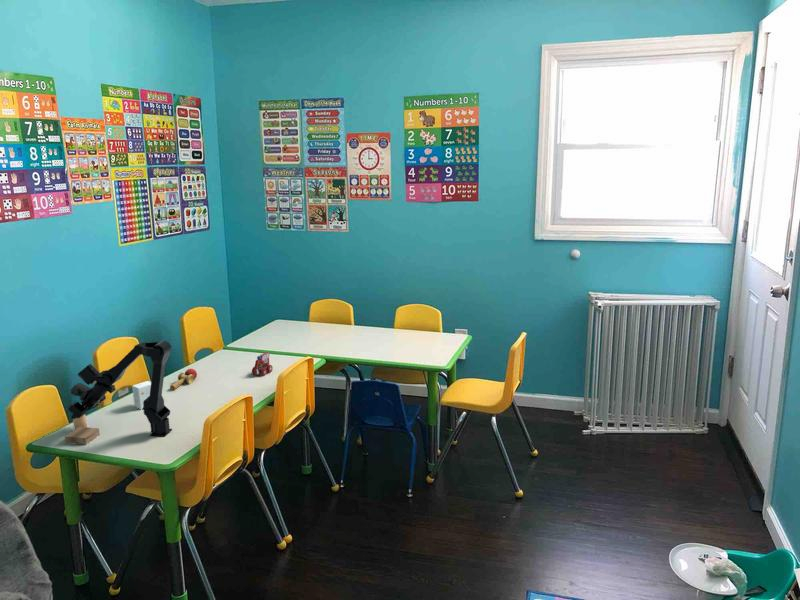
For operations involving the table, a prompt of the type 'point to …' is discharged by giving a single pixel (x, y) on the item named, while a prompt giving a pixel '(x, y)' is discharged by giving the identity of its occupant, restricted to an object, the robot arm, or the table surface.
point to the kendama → (185, 378)
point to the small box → (141, 393)
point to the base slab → (82, 435)
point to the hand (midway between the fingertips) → (75, 415)
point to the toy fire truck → (262, 365)
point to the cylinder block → (80, 422)
